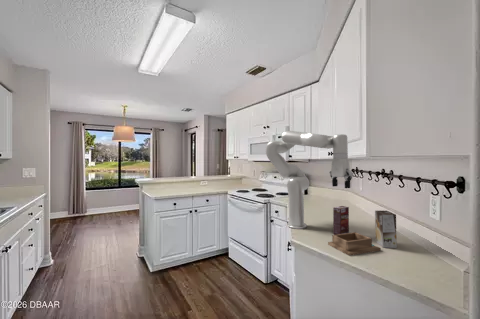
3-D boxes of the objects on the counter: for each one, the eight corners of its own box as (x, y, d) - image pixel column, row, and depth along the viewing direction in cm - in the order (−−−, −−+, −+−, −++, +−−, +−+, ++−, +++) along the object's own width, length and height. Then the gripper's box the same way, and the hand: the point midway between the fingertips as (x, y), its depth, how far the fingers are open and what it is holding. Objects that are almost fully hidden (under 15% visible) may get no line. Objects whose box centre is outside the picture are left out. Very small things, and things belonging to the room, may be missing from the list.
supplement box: (341, 238, 122) (340, 208, 122) (332, 235, 126) (332, 207, 126) (349, 235, 127) (349, 206, 127) (341, 232, 131) (341, 205, 131)
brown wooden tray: (328, 244, 113) (327, 234, 113) (356, 240, 118) (356, 230, 118) (349, 255, 100) (349, 243, 100) (380, 250, 105) (380, 239, 105)
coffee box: (397, 248, 107) (397, 214, 107) (382, 247, 108) (382, 214, 108) (388, 241, 116) (387, 210, 116) (374, 240, 117) (374, 210, 117)
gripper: (324, 157, 134) (325, 186, 133) (346, 156, 117) (347, 189, 117) (335, 157, 136) (335, 185, 136) (357, 156, 119) (358, 188, 119)
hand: (341, 187), depth 126 cm, fingers open, 9 cm apart
